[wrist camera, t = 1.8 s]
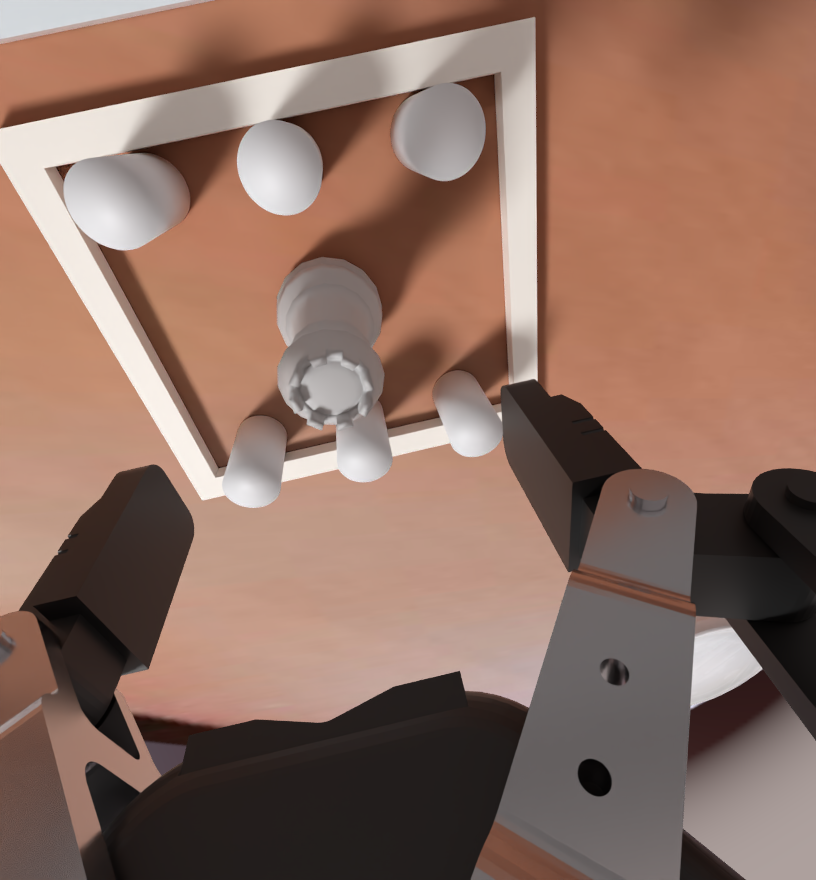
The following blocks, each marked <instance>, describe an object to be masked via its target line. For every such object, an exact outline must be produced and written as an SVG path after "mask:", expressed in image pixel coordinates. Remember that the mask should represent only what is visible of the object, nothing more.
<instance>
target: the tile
mask: <svg viewBox="0 0 816 880" xmlns="http://www.w3.org/2000/svg"><path fill="white" fill-rule="evenodd" d="M208 1H213V0H0V44H3V43H8V42H13V41H18V40H22V39H27V38H32V37H37V36H42V35H47V34H52V33H57V32H62V31H66V30H71V29H76V28H81V27H86V26H91V25H96V24H101V23H106V22H110V21H115V20H120V19H125V18H130V17H135V16H140V15H145V14H150V13H154V12H159V11H164V10H169V9H174V8H179V7H184V6H189V5H194V4H198V3H203V2H208Z"/></svg>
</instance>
